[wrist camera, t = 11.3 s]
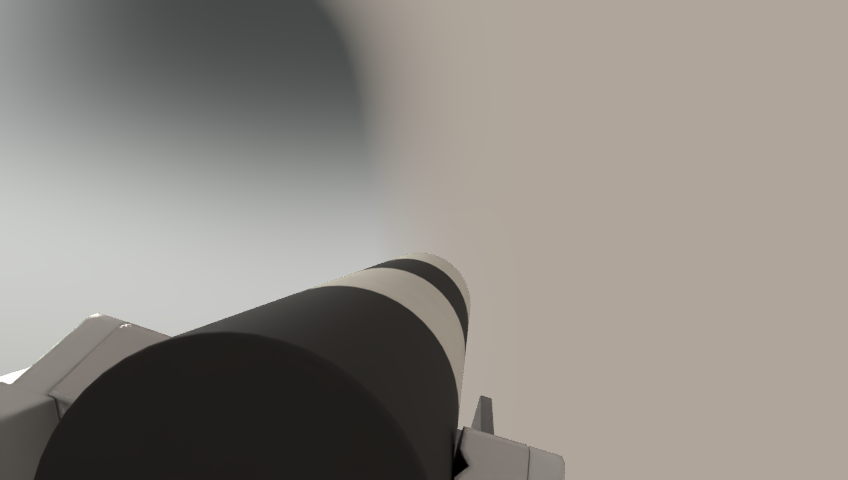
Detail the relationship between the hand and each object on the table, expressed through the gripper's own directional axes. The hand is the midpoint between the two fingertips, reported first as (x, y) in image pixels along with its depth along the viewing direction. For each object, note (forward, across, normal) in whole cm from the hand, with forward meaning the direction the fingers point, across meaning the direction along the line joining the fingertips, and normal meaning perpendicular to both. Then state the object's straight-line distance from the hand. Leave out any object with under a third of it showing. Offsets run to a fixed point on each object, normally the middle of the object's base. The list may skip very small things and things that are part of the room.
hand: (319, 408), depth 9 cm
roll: (+4, 0, +6) cm, 7 cm away
